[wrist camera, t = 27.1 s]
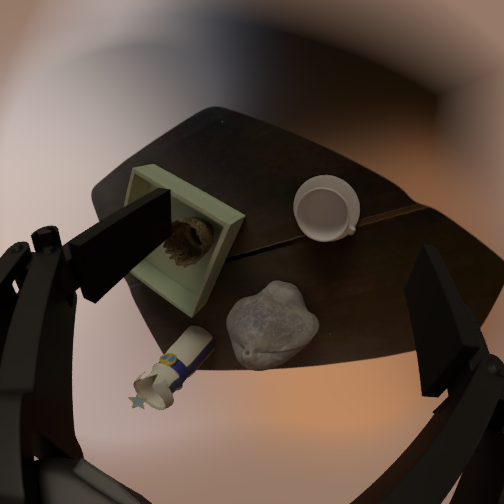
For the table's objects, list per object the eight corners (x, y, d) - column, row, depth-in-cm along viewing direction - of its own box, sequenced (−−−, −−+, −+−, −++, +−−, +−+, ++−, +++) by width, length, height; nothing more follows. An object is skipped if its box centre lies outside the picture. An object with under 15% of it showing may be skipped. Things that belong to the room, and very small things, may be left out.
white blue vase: (180, 320, 61) (105, 391, 39) (213, 328, 58) (141, 410, 36) (186, 348, 64) (122, 419, 42) (218, 356, 60) (156, 437, 39)
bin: (245, 215, 46) (230, 224, 41) (206, 303, 56) (191, 318, 51) (153, 163, 49) (132, 167, 44) (132, 250, 59) (114, 260, 54)
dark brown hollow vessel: (215, 203, 46) (189, 214, 39) (231, 244, 48) (208, 262, 41) (182, 216, 49) (154, 229, 43) (198, 253, 51) (172, 271, 44)
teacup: (283, 217, 44) (274, 225, 39) (314, 162, 39) (308, 163, 35) (337, 252, 42) (334, 264, 38) (372, 199, 37) (374, 205, 33)
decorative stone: (324, 281, 45) (305, 337, 32) (323, 332, 48) (305, 393, 35) (239, 276, 50) (196, 322, 37) (246, 324, 54) (210, 375, 41)
